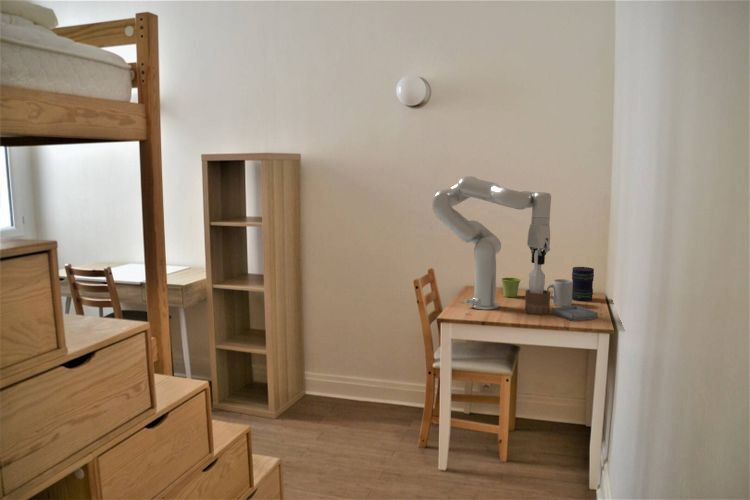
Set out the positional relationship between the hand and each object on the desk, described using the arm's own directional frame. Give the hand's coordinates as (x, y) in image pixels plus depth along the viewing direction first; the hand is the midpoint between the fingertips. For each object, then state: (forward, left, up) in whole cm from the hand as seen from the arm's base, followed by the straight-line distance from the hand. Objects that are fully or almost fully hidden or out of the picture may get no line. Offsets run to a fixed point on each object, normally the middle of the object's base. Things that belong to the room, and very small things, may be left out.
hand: (537, 263), depth 255 cm
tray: (+11, -12, -22) cm, 27 cm away
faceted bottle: (0, 0, -17) cm, 17 cm away
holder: (0, 0, -22) cm, 22 cm away
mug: (+18, +8, -22) cm, 30 cm away
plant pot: (+7, +30, -22) cm, 38 cm away
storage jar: (+35, +12, -22) cm, 43 cm away
